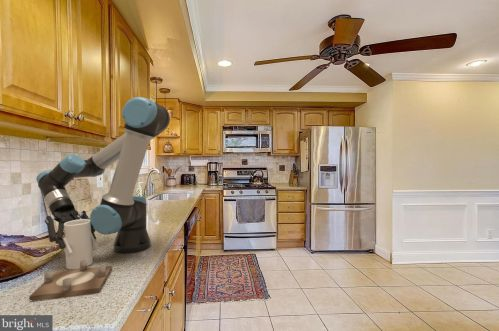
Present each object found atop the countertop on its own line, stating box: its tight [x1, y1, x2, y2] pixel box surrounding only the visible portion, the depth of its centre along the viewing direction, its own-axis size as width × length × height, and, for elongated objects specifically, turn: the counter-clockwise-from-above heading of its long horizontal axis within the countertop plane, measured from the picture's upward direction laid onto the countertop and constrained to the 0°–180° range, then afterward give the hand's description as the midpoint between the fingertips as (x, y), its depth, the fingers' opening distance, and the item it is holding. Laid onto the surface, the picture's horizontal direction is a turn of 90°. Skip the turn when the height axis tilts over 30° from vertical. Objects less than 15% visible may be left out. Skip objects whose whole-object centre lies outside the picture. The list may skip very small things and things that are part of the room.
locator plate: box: [28, 260, 113, 301], centre depth 82 cm, size 17×17×4 cm
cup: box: [63, 218, 94, 270], centre depth 97 cm, size 8×8×16 cm
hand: (83, 251), depth 95 cm, fingers closed on cup, 8 cm apart
